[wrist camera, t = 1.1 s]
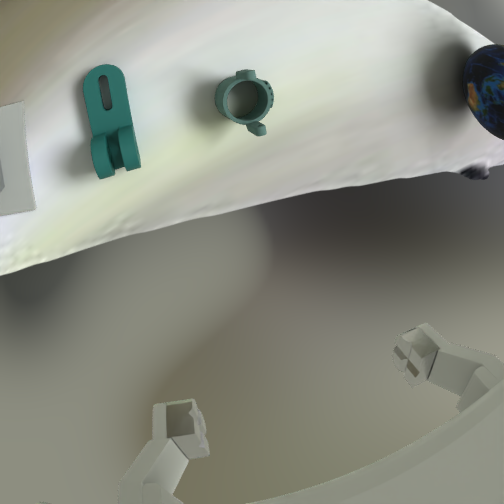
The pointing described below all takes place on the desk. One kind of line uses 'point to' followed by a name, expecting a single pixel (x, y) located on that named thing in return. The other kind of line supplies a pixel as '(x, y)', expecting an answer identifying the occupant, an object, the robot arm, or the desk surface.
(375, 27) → the desk surface
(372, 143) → the desk surface
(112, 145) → the bracket
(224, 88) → the bracket
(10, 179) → the well
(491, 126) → the globe
